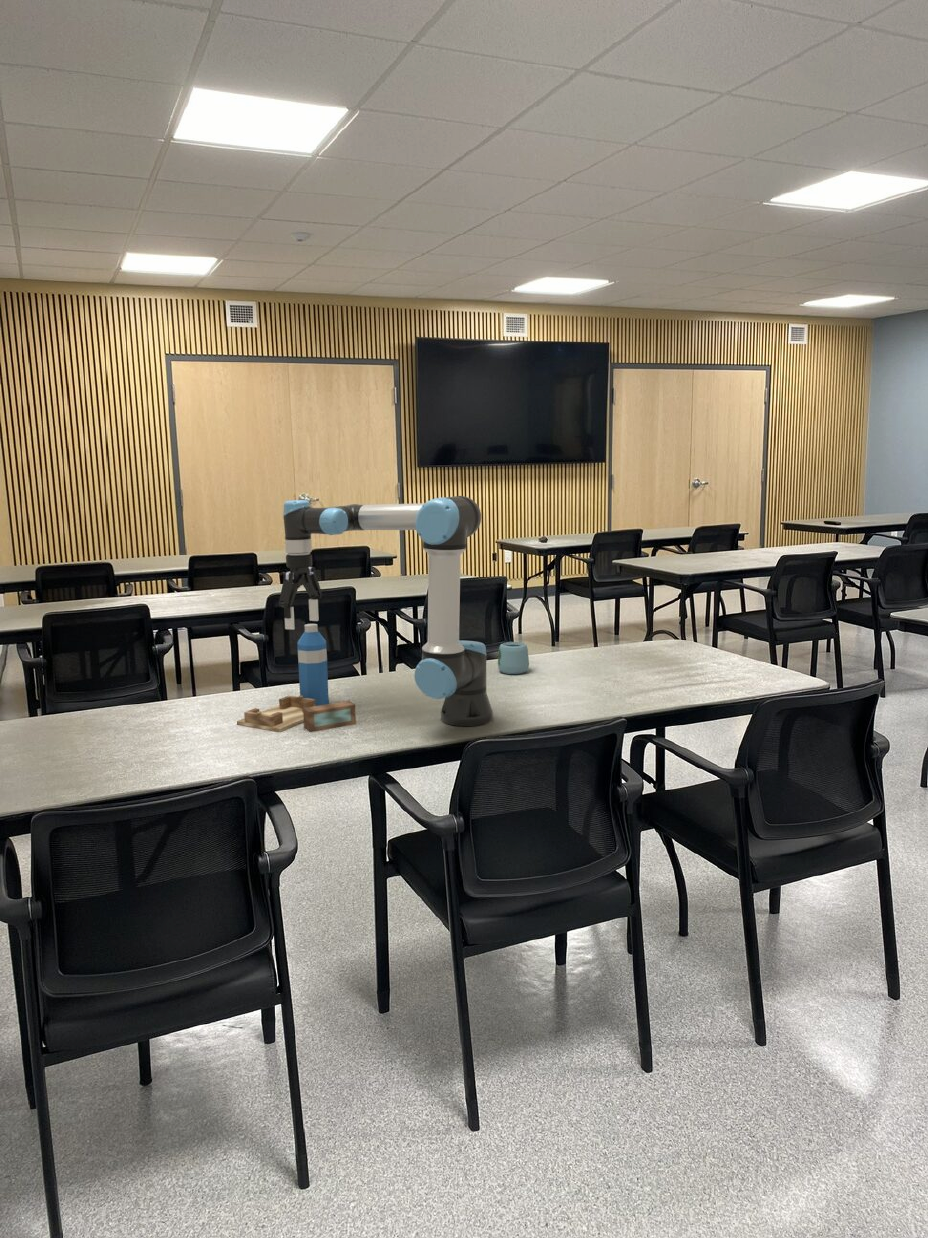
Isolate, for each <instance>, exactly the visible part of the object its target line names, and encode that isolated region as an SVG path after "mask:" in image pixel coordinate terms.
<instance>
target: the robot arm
mask: <svg viewBox="0 0 928 1238" xmlns="http://www.w3.org/2000/svg"><path fill="white" fill-rule="evenodd" d="M282 516H283V526H284V540H285V541H284V544H285V553H286V555H285V563H286V567H287V568H289V572H283V580H282V581H283V582H282V586H281V591H280V594H279V595H280V596H279V601H278V606H279V607H281V608H283V615H284V616H283V617H284V629H285V630H295V611H294V606H293V603H294V601H295V597H296V595H297V592H298V590H299V588H301V586H303V588H304V589H305V591H306V593H307V594H308V596H309V599H308V610H309V612H308V613H309V621H310V622H311V621H312V622H318V621H319V600H321V599H322V596H323V592H322V589H321V586H320V582H319V580H318V577H317V574H316V567H314V566H313V555H312V554H311V552H312V549H313V546H312V534H317V535H328V536H333V535H335V536H336V535H342V534H344V532H350V531H351V532H352V531H416V533H417V535H418V536H419V538H420V539H421V540H422V550H424V551H425V552H426V553H427V555H428V556H427V557H428V566H427V567H428V568H427V569H428V570H427V571H428V572H427V574H428V575H427V577H428V578H427V579H428V580H427V584H428V585H427V586H428V588H427V595H428V596H427V642H426V643H425V644H423V646H422V647H421V660H420V661H419V662H418V664H417V665H416V667H415V669H414V681H415V683H416V686H417V687H418V689H419V690H420V692H422V694H423V695H425V696H426V697H429V698H431V699H435V700H442V699H444V700H443V704H442V707H441V710H440V720H441V722H443V723H444V724H447V725H450V726H456V727H475V726H481V725H485V724H488V723H490V722H491V721H492V720H493V719H494V718H493V717H494V715H493V713H494V712H493V709H492V706H491V702H490V700H489V697H488V694H487V655H488V654H487V648H486V645H485V644H484V643H483V642H480V641H474V640H462V639H461V640H460V612H461V611H460V607H461V605H460V604H461V603H460V599H461V598H460V597H461V555H462V554H463V553H464V552H465V551H466V550H467V538H469V537H471V536H472V535H473V534H475V533H476V532H477V531H478V529H479V528H480V527H481V523H482V512H481V508H480V506H479V505H478V504H477V503H476V501H475V500H473V499H472V498H471V497H469V496H468V497H467V496H464V495H456V496H446V497H436V498H433V499H430V500H428V501H425V502H424V503H389V504H388V503H387V504H386V503H383V504H380V503H379V504H359V503H356V504H355V503H354V504H348V505H347V504H346V505H338V506H329V507H311V505H310V501H308V500H307V499H306V500H305V499H293V500H292V499H291V500H286V501H284V502H283V515H282Z"/></svg>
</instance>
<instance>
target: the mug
mask: <svg viewBox="0 0 928 1238" xmlns="http://www.w3.org/2000/svg"><path fill="white" fill-rule="evenodd" d="M498 647H499V648H498V657H497V667H498V670H499V671H500V672H501V673H502V674H507V675H519V674H524V673H526V672H527V671H528V670H529V667H530V659H529V648H528V645H527V643H523V642H519V641H507V642H503V643H500V645H499V646H498Z"/></svg>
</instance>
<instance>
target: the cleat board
mask: <svg viewBox="0 0 928 1238" xmlns="http://www.w3.org/2000/svg"><path fill="white" fill-rule="evenodd" d="M278 701H279V702H278V704H277V705H275V706H272V707H270V708H267V709H265V710H262V711H260V708H252V709H250V710H247V711H244V713H243V714H244V717H243V718H241V719H239V720H237V721H236V725H239V726H244V727H249V728H255V729H260V730H261V729H262V730H267V731H273V732H277V733H281V732H283V731H287V730H289V729H291V728H293V727H296V726H298V725H300V724H304V717H303V708H307V707H313V706H316V703H315V699H309V698H303V696H302V695H300V694H299V695H298V696H294V695H286V696H284V697H280V698H279V699H278Z"/></svg>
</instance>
